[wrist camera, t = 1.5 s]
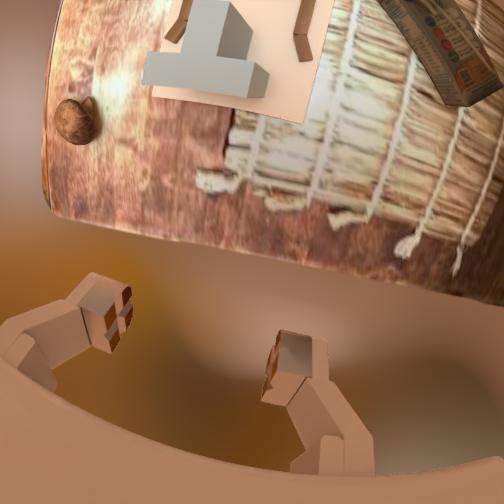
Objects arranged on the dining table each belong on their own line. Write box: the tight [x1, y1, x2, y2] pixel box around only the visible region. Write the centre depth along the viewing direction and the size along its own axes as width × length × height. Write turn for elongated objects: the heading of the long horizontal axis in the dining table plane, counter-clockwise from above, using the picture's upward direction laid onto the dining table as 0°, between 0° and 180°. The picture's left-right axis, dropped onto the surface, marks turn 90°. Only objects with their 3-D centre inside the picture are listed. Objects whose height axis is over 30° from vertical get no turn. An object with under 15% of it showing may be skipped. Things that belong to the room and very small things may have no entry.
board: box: [152, 0, 334, 124], centre depth 26 cm, size 19×20×1 cm
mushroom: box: [54, 97, 97, 145], centre depth 32 cm, size 8×8×6 cm
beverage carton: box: [377, 0, 503, 107], centre depth 19 cm, size 8×19×6 cm, turn 38°
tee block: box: [142, 0, 270, 98], centre depth 23 cm, size 9×8×12 cm
